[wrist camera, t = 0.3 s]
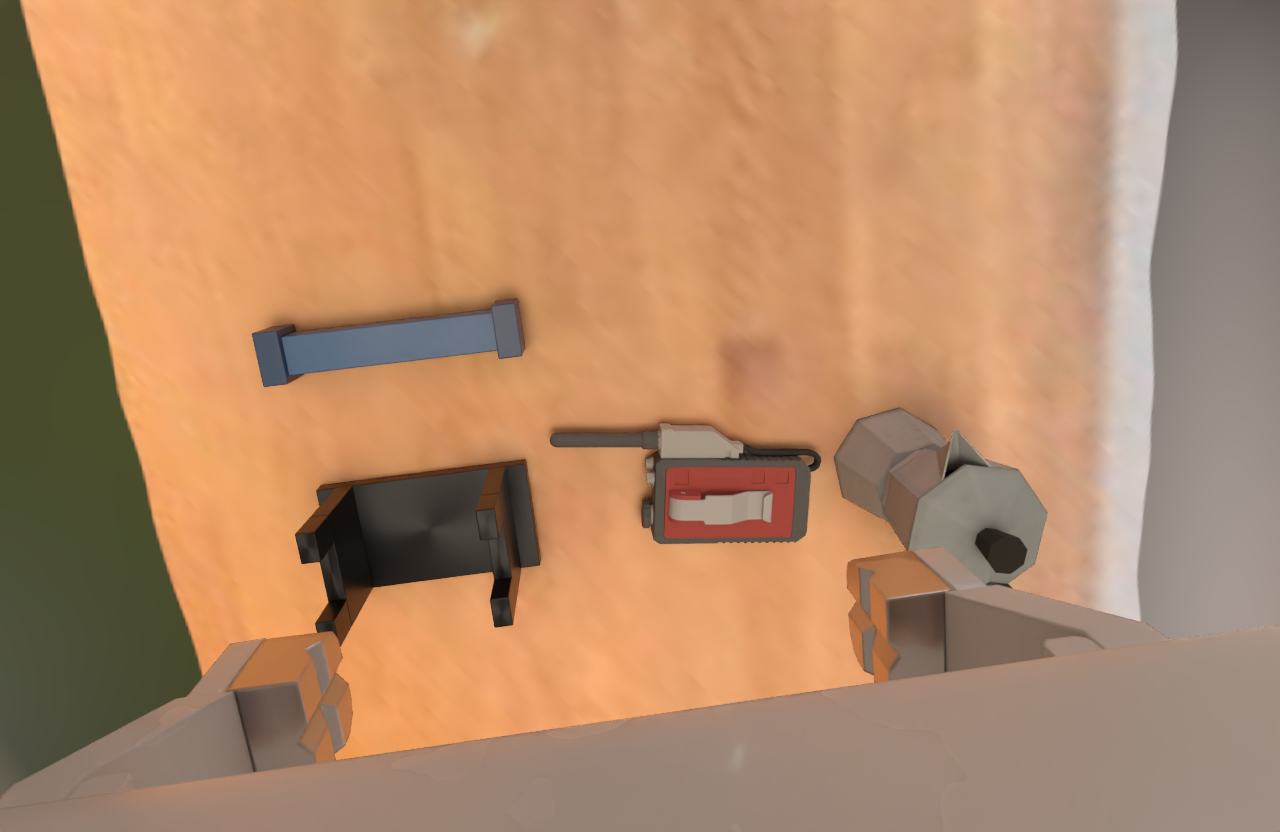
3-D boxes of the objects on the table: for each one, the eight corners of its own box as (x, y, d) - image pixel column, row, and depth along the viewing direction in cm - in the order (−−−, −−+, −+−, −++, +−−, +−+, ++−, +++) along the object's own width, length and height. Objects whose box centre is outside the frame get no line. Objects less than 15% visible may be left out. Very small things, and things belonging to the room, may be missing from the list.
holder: (320, 485, 60) (271, 537, 50) (526, 459, 61) (517, 505, 51) (342, 585, 62) (298, 654, 52) (540, 559, 63) (534, 622, 53)
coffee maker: (816, 401, 62) (912, 473, 44) (928, 368, 62) (1069, 427, 44) (855, 577, 65) (959, 708, 48) (961, 546, 65) (1103, 666, 48)
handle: (271, 326, 57) (251, 333, 54) (518, 297, 58) (514, 302, 55) (282, 377, 58) (263, 387, 55) (525, 348, 59) (522, 356, 55)
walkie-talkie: (817, 421, 62) (550, 421, 60) (835, 436, 58) (548, 436, 56) (809, 531, 64) (550, 533, 62) (826, 553, 60) (548, 556, 58)
